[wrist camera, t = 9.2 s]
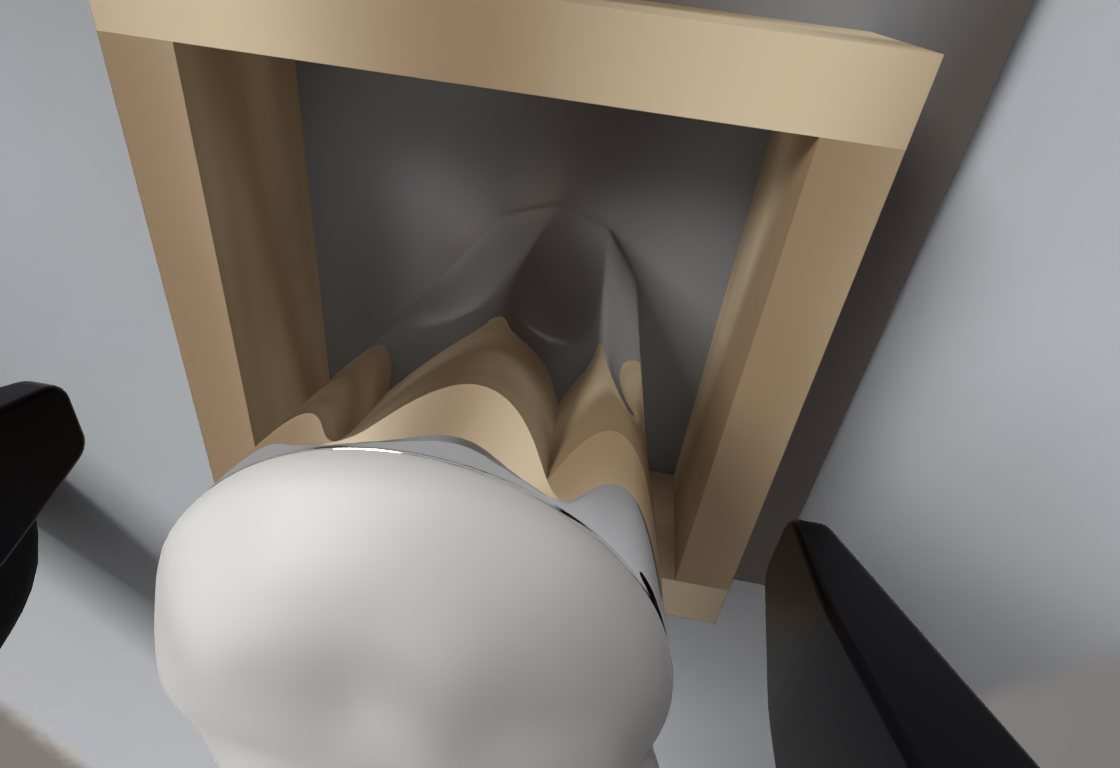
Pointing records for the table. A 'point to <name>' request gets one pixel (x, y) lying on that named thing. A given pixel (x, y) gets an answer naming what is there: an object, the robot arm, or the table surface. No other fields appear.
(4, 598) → the controller
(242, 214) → the wooden frame tray
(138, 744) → the table surface
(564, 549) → the milkshake
